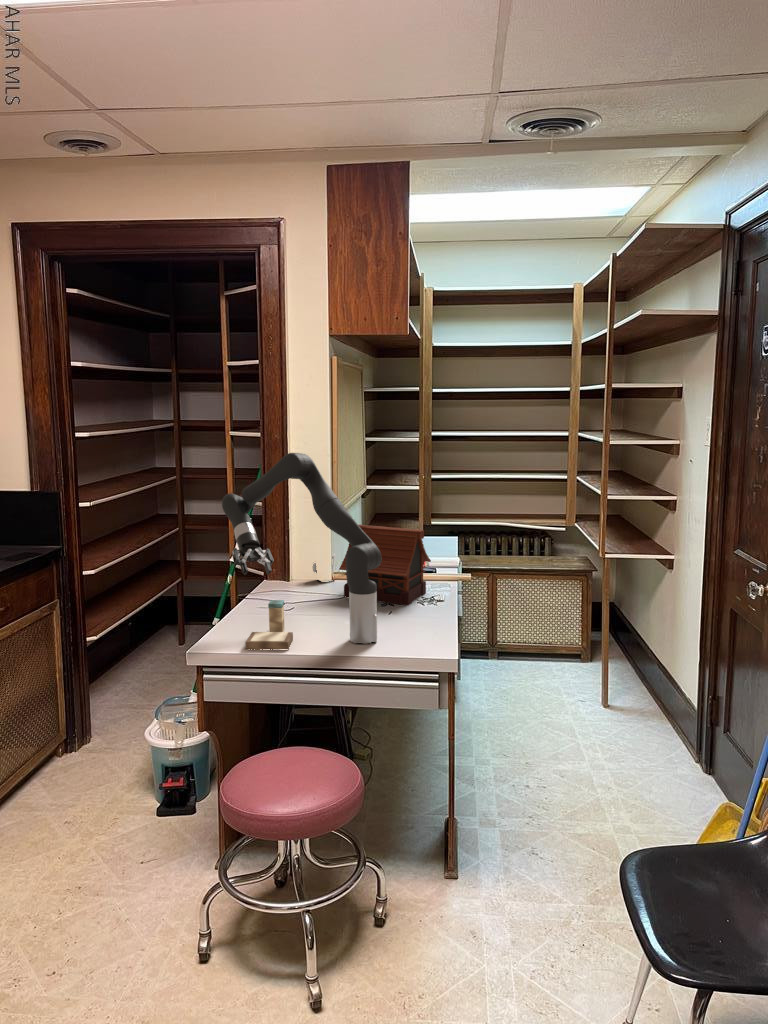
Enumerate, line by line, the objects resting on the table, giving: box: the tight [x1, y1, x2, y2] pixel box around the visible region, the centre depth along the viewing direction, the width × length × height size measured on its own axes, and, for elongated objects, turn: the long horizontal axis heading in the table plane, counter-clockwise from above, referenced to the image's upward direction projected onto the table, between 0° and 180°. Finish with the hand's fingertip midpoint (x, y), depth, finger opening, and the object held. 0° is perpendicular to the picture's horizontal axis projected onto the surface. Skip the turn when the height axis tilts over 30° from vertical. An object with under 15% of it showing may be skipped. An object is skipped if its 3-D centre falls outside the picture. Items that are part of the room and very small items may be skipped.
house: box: [338, 524, 432, 606], centre depth 301 cm, size 35×28×29 cm
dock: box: [245, 631, 294, 651], centre depth 242 cm, size 14×10×3 cm
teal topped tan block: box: [267, 599, 285, 632], centre depth 255 cm, size 5×5×11 cm
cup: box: [312, 553, 336, 574], centre depth 326 cm, size 10×9×12 cm
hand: (257, 573), depth 252 cm, fingers open, 8 cm apart
